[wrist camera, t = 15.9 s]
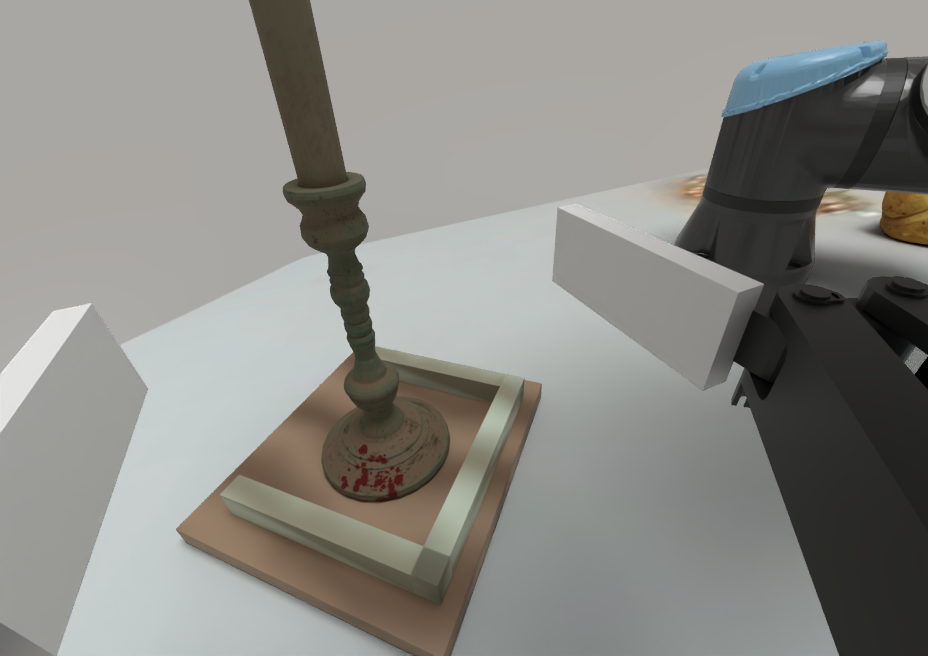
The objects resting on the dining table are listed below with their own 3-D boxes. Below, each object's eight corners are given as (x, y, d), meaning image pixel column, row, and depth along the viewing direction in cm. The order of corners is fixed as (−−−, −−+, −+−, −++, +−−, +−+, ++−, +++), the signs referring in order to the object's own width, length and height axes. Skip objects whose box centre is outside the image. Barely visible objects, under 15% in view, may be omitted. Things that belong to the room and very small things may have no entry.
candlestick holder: (297, 492, 27) (-51, -249, 10) (355, 396, 34) (210, -124, 17) (431, 513, 25) (282, -344, 8) (461, 407, 32) (415, -159, 16)
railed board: (363, 356, 41) (356, 328, 39) (540, 397, 35) (543, 365, 33) (186, 542, 26) (160, 510, 24) (445, 671, 20) (438, 641, 18)
